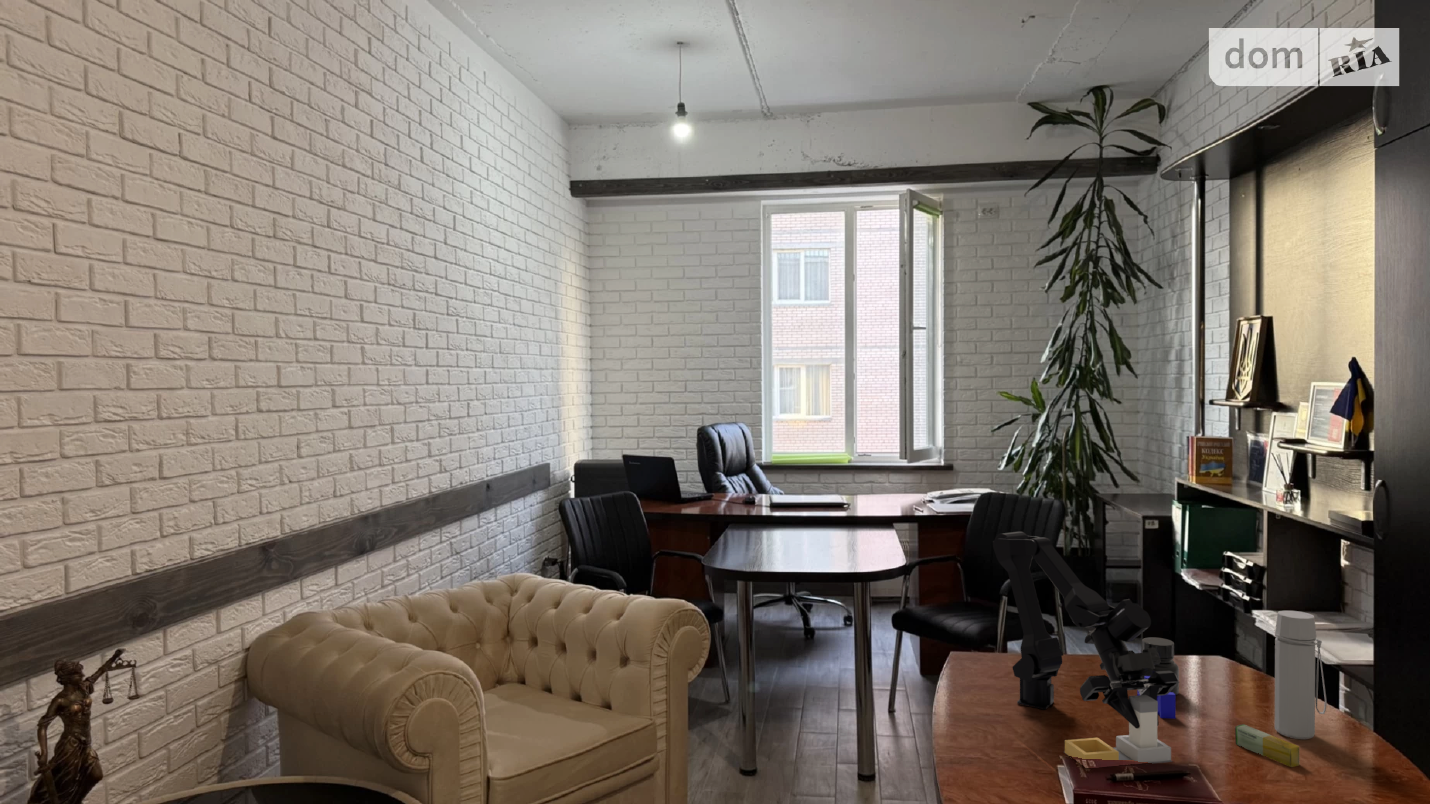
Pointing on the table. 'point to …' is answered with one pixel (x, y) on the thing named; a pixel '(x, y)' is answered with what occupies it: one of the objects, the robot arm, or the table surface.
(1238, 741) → the medication box
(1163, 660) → the ink bottle
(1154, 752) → the socket board
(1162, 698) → the cable clip
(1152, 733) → the white plug
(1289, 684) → the water bottle
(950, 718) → the table surface
